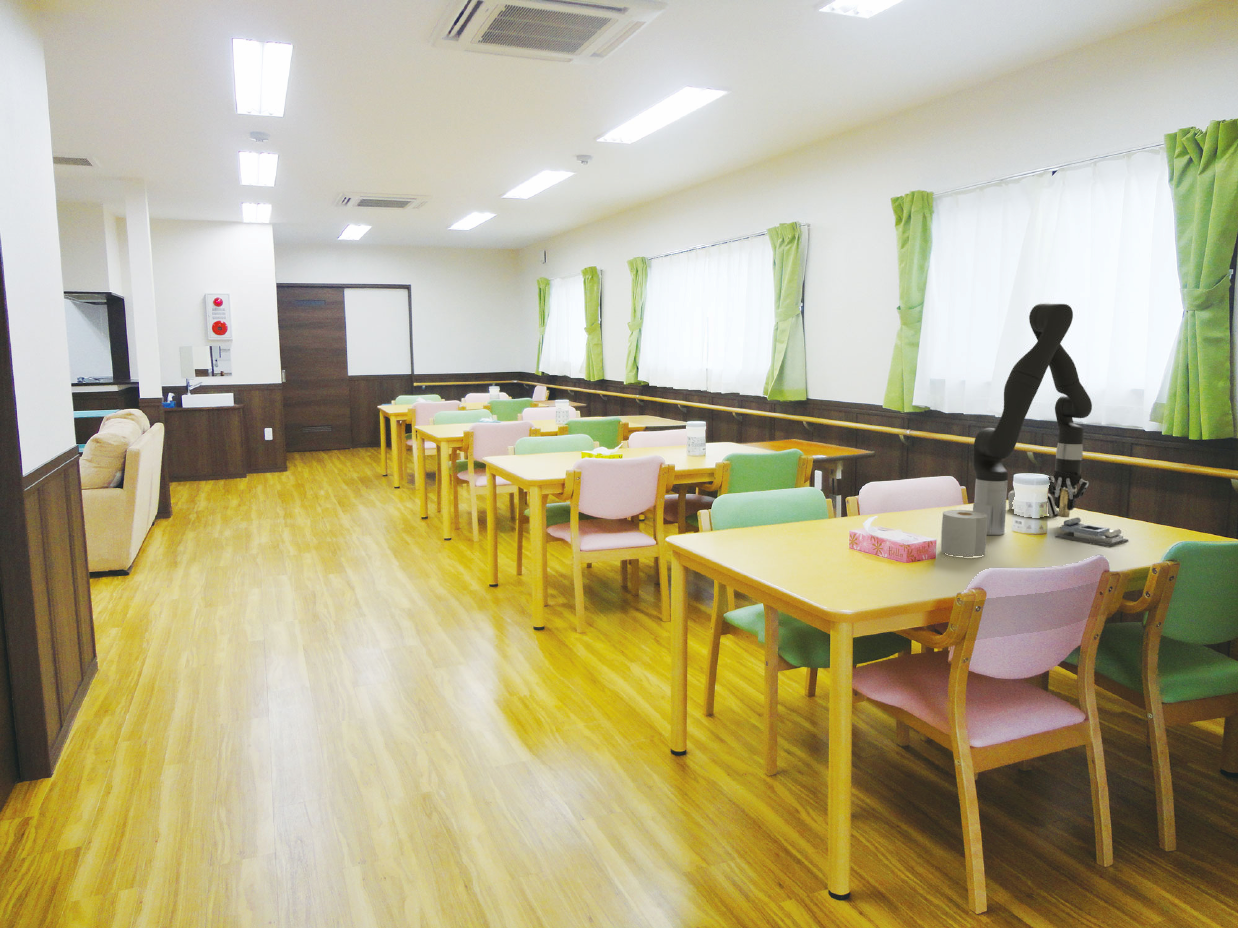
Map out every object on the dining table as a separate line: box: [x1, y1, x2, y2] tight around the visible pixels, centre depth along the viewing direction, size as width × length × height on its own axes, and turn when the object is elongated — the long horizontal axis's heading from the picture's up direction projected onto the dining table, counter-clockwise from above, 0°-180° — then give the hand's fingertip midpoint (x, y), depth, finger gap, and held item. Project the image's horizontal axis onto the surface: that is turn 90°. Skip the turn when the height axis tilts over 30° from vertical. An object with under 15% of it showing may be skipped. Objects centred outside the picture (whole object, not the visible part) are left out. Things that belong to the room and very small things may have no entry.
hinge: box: [1007, 489, 1059, 518], centre depth 290 cm, size 17×5×10 cm, turn 29°
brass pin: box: [1057, 488, 1071, 518], centre depth 269 cm, size 3×3×9 cm
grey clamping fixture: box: [1060, 516, 1124, 544], centre depth 251 cm, size 7×15×5 cm, turn 35°
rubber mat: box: [1054, 531, 1129, 548], centre depth 251 cm, size 12×16×1 cm
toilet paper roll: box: [940, 509, 988, 557], centre depth 236 cm, size 12×12×12 cm
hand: (1064, 508), depth 269 cm, fingers closed on brass pin, 3 cm apart
